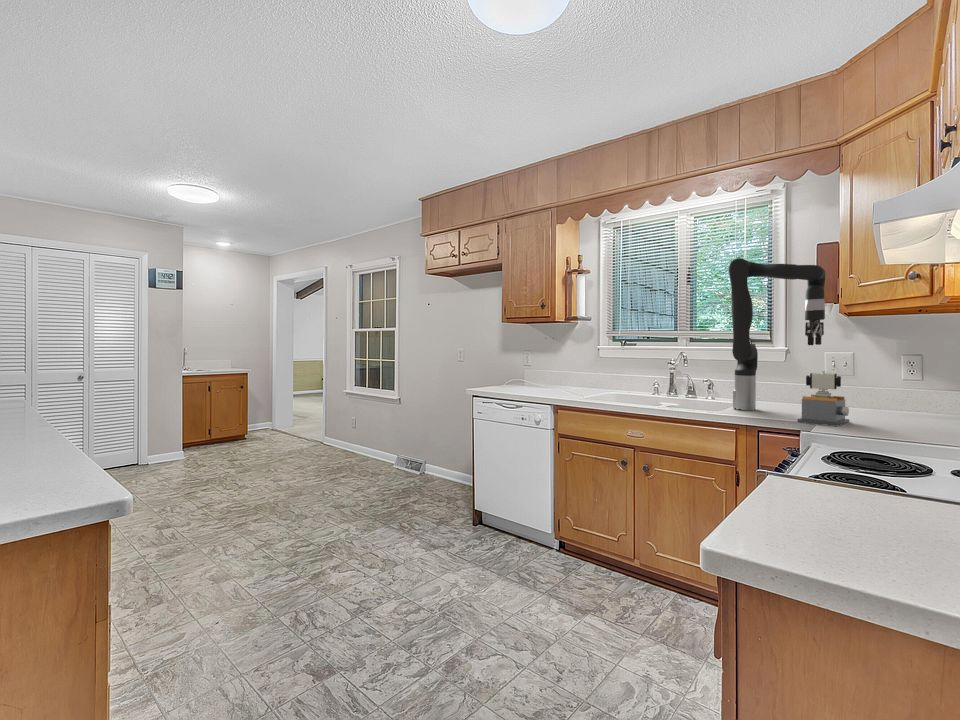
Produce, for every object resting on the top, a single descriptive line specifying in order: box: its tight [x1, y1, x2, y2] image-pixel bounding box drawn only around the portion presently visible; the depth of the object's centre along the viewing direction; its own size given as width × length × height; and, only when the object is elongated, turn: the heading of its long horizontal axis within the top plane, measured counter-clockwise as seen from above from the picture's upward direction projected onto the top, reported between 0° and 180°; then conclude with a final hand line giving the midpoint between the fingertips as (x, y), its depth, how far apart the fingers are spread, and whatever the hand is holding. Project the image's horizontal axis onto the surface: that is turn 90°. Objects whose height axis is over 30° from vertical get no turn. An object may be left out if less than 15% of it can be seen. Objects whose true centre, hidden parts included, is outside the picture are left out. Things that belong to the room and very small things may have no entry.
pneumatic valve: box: [805, 370, 842, 398], centre depth 201 cm, size 6×12×12 cm, turn 51°
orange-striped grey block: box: [797, 394, 850, 426], centre depth 200 cm, size 15×14×11 cm
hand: (814, 344), depth 219 cm, fingers open, 8 cm apart
